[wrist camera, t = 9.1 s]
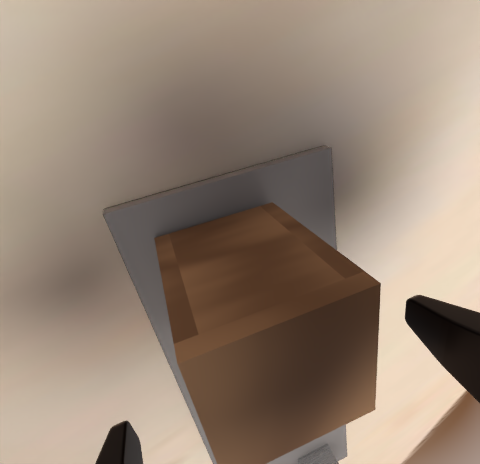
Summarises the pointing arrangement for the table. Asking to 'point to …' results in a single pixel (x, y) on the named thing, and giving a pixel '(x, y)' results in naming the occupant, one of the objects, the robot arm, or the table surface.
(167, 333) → the slate board
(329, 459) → the grey post
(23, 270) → the table surface
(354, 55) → the table surface
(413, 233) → the table surface
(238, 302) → the walnut sleeve
